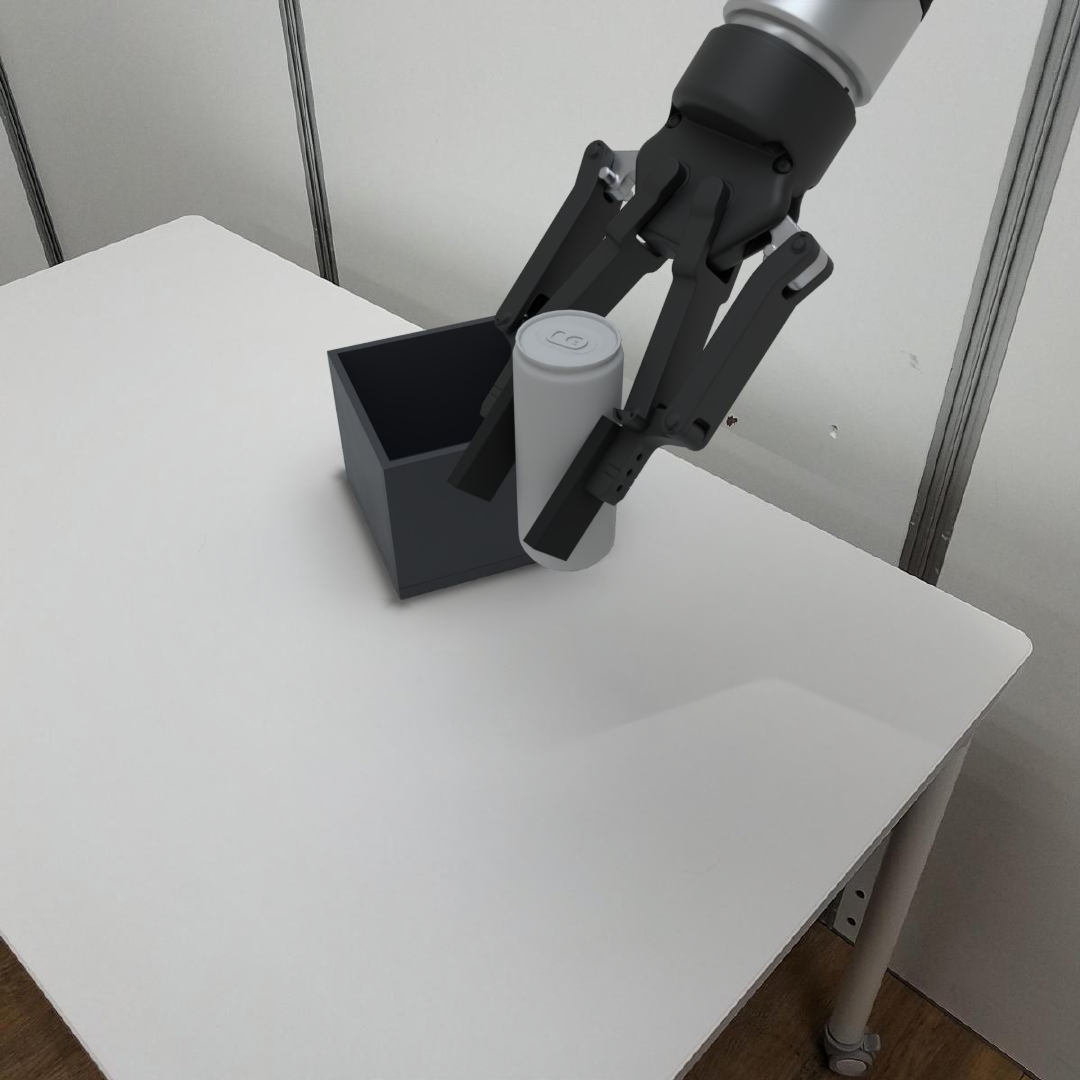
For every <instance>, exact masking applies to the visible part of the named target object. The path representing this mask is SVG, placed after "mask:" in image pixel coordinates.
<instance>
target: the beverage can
mask: <svg viewBox="0 0 1080 1080" xmlns="http://www.w3.org/2000/svg"><path fill="white" fill-rule="evenodd" d="M515 339H516V343H515V346H514V349H513V381H514V415H515V448H516V479H517V505H518V529H519V539H520V543H521V545H522V547H523V548H524V550H525V552H526V553H527V554H528V555H529V556H530V557H531V558H532V559H533V560H534V561H536V562H535V563H537V564H538V565H540V566H542V567H543V568H545V569H548V570H551V571H556V572H562V573H563V572H565V573H568V572H579V571H581V570H587V569H588V568H590V567H592V566H594V565H596V564H597V563H599V562H601V561H602V560H603V559H604V558H606V556H607V555H609V554H610V552H611V550H612V548H613V547H614V544H615V540H616V530H617V529H616V528H617V527H616V525H617V523H616V522H617V509H618V508H617V505H618V503H617V504H616V505H615V506H612V505H610V504H608V503H606V502H604V503H603V505H602V507H601V508H600V510H599V511H598V513H597V514H596V516H595V517H594V519H593V521H592V522H591V524H590V525H589V527H588V528H587V530H586V532H585V533H584V535H583V536H582V538H581V539H580V541H579V543H578V544H577V546H576V547H575V549H574V550H573V552H572V553H571V555H570V557H569V558H568V560H567V561H563V560H561V559H558V558H555V557H553V556H550V555H547V554H545V553H542V552H539V551H537V550H534V549H533V548H531V547H530V546H529V545H528V544H526V543H525V542H524V541H523V539H524V538H525V536H526V535H527V533H528V532H529V530H530V528H531V527H532V525H533V524H534V522H535V520H536V519H537V517H538V516H539V514H540V513H541V511H542V509H543V508H544V506H545V505H546V503H547V501H548V500H549V498H550V497H551V495H552V494H553V492H554V490H555V489H556V487H557V486H558V484H559V482H560V481H561V479H562V478H563V476H564V474H565V473H566V471H567V470H568V468H569V467H570V465H571V463H572V462H573V460H574V459H575V457H576V455H577V454H578V452H579V451H580V449H581V448H582V446H583V444H584V443H585V441H586V440H587V438H588V436H589V435H590V433H591V432H592V430H593V429H594V427H595V425H596V424H597V422H598V421H599V419H600V417H601V416H602V415H604V416H605V417H607V418H609V419H610V420H612V421H614V422H615V423H617V424H618V425H620V426H622V425H621V424H619V423H618V422H616V421H615V419H614V418H613V408H617V409H618V410H619V409H622V408H623V407H622V405H623V387H624V386H623V383H624V366H625V351H624V348H623V344H622V340H623V338H622V335H621V331H620V329H619V328H618V327H617V326H616V325H615V323H614V322H613V321H611V320H609V319H607V318H606V317H605V318H604V317H602V316H599V315H597V314H594V313H589V312H585V311H577V310H558V311H552V312H547V313H543V314H540V315H537V316H535V317H532V318H531V319H529V320H528V321H526V322H524V323H523V325H522V326H521V327H520V328H519V329H518V331H517V334H516V337H515Z"/></svg>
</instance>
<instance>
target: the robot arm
mask: <svg viewBox="0 0 1080 1080" xmlns="http://www.w3.org/2000/svg"><path fill="white" fill-rule="evenodd" d="M933 2H934V0H727V1H726V2H725V4H724V6H723V7H722V19H723V22H724V24H721V25H719V26H716V27H713V28H712V29H711V30H709V32H708V33H707V35H706V36H705V38H704V40H703V41H702V43H701V44H700V46H699V48H698V49H697V51H696V53H695V55H694V56H693V58H692V59H691V61H690V62H689V64H688V66H687V68H686V69H685V71H684V73H683V74H682V75H681V77H680V79H679V81H678V83H676V85H675V87H674V89H673V91H672V95H671V103H670V108H669V113H668V118H667V120H666V122H665V123H664V125H662V127H661V128H660V129H659V130H658V131H657V132H656V133H655V134H654V135H652V136H651V137H649V138H648V139H647V140H646V141H645V142H644V143H643V144H642V145H641V147H640V148H639V150H633V149H632V150H613V149H611V148H610V146H608V144H607V143H606V142H604V141H603V140H602V139H596V140H593V141H591V142H590V143H589V144H588V145H587V146H586V148H585V150H584V151H583V154H582V157H581V158H582V159H581V161H580V165H579V168H578V172H577V176H576V179H575V182H574V185H573V187H572V188H571V190H570V191H569V194H568V195H567V196H566V198H565V200H564V201H563V203H562V205H561V207H560V209H558V212H556V215H555V216H554V218H553V219H552V221H551V223H550V224H549V226H548V228H547V229H546V231H545V233H543V236H542V238H541V239H540V241H539V243H538V244H537V245H536V247H535V249H534V251H533V252H532V254H531V255H530V257H529V258H528V260H527V262H526V263H525V265H524V267H523V268H522V270H521V272H520V273H519V275H518V277H517V278H516V280H515V282H514V283H513V285H512V286H511V288H510V290H509V291H508V293H507V295H506V296H505V298H504V299H503V301H502V303H501V305H500V306H499V307H498V309H497V311H496V313H495V314H494V315H495V318H494V323H495V326H496V327H497V328H498V329H499V330H501V331H502V332H503V333H504V335H505V336H506V338H507V340H508V341H509V343H510V345H511V356H510V359H509V361H508V363H507V364H506V366H505V368H504V369H503V371H502V372H501V374H500V376H499V377H498V379H497V381H496V382H495V384H494V386H493V387H492V389H491V390H490V393H489V394H488V395H487V397H486V399H485V400H484V402H483V403H482V407H481V411H480V415H481V416H483V417H484V418H485V419H484V421H483V422H482V424H481V426H480V427H479V429H478V430H477V432H476V434H475V435H474V437H473V439H472V440H471V442H470V443H469V445H468V447H467V448H466V450H465V452H464V453H463V455H462V456H461V458H460V460H459V461H458V463H457V465H456V466H455V468H454V469H453V471H452V473H451V474H450V476H449V478H448V479H447V482H449V483H450V484H451V485H453V486H454V487H455V488H456V489H459V490H461V491H464V492H466V493H469V494H471V495H473V496H476V497H478V498H481V499H483V500H486V501H488V502H491V500H492V499H493V497H494V495H495V494H496V492H497V491H498V489H499V487H500V486H501V484H502V482H503V481H504V479H505V478H506V476H507V474H508V473H509V471H510V470H511V468H512V466H513V465H514V463H515V462H516V448H515V415H514V381H513V349H514V346H515V343H516V339H515V337H516V334H517V331H518V329H519V328H520V327H521V326H522V325H523V323H524V322H526V321H528V320H529V319H531V318H532V317H535V316H537V315H540V314H543V313H547V312H552V311H558V310H577V311H585V312H589V313H594V314H597V315H599V316H602V317H604V318H606V317H607V316H608V315H609V314H610V313H611V312H612V311H613V310H614V308H615V307H616V306H617V305H618V304H619V303H620V302H621V301H622V300H623V299H624V298H625V296H626V295H627V294H628V293H629V292H631V290H632V289H633V288H634V287H635V286H636V285H637V283H639V281H641V280H642V278H643V277H644V276H646V275H647V274H653V273H656V272H657V271H658V270H659V269H661V268H662V266H664V265H665V263H667V262H668V260H672V263H671V275H672V281H671V283H670V286H669V289H668V290H667V291H668V292H667V293H666V297H665V299H664V302H663V304H662V307H661V310H660V313H659V315H658V317H657V320H656V323H655V325H654V327H653V331H652V333H651V336H650V339H649V342H648V344H647V346H646V349H645V351H644V354H643V357H642V360H641V362H640V365H639V367H638V370H637V373H636V376H635V378H634V381H633V383H632V386H631V388H630V391H629V393H628V397H627V399H626V402H625V404H624V407H623V409H622V408H621V409H619V410H618V409H617V408H613V418H614V419H615V421H616V422H618V423H619V424H621V426H620V425H618V424H617V423H615V422H614V421H612V420H610V419H609V418H607V417H605V416H604V415H602V416H601V417H600V419H599V421H598V422H597V424H596V425H595V427H594V429H593V430H592V432H591V433H590V435H589V436H588V438H587V440H586V441H585V443H584V444H583V446H582V448H581V449H580V451H579V452H578V454H577V455H576V457H575V459H574V460H573V462H572V463H571V465H570V467H569V468H568V470H567V471H566V473H565V474H564V476H563V478H562V479H561V481H560V482H559V484H558V486H557V487H556V489H555V490H554V492H553V494H552V495H551V497H550V498H549V500H548V501H547V503H546V505H545V506H544V508H543V509H542V511H541V513H540V514H539V516H538V517H537V519H536V520H535V522H534V524H533V525H532V527H531V528H530V530H529V532H528V533H527V535H526V536H525V538H524V539H523V541H524V542H525V543H526V544H528V545H529V546H530V547H531V548H533V549H534V550H537V551H539V552H542V553H545V554H547V555H550V556H553V557H555V558H558V559H561V560H563V561H567V560H568V558H569V557H570V555H571V553H572V552H573V550H574V549H575V547H576V546H577V544H578V543H579V541H580V539H581V538H582V536H583V535H584V533H585V532H586V530H587V528H588V527H589V525H590V524H591V522H592V521H593V519H594V517H595V516H596V514H597V513H598V511H599V510H600V508H601V507H602V505H603V503H604V502H606V503H608V504H610V505H612V506H615V505H616V504H617V505H618V504H619V503H620V502H622V501H623V500H624V498H625V497H626V495H627V494H628V492H629V490H630V489H631V487H632V486H633V485H634V483H635V480H637V478H638V477H639V475H640V474H641V472H642V470H643V469H644V468H645V466H646V464H647V463H648V461H649V459H650V458H651V456H652V455H653V454H654V452H655V451H656V450H657V449H659V448H660V447H661V448H662V447H663V446H674V447H678V448H685V449H687V450H688V451H691V452H700V451H701V450H704V449H705V448H706V446H708V444H709V443H710V441H711V439H712V438H713V436H714V435H715V433H716V432H717V430H718V429H719V427H720V426H721V425H722V423H723V421H724V419H725V418H726V416H727V415H728V413H729V412H730V410H731V408H732V406H733V405H734V404H735V403H736V401H737V399H738V398H739V396H740V394H741V393H742V391H743V390H744V388H745V387H746V385H747V383H748V382H749V381H750V379H751V377H752V376H753V374H754V373H755V371H756V370H757V368H758V367H759V365H760V363H761V361H763V359H764V357H765V355H766V354H767V352H768V351H769V349H770V347H772V345H773V343H774V342H775V340H776V338H777V337H778V335H779V334H780V332H781V330H782V329H783V328H784V326H785V325H786V323H787V322H788V320H789V318H790V317H791V315H792V313H793V312H794V310H795V309H796V308H797V306H798V305H800V304H801V303H802V302H803V301H804V300H805V299H806V298H807V297H808V296H810V295H811V294H812V293H813V292H814V291H816V290H817V289H818V288H819V287H820V286H821V285H822V284H824V283H825V282H826V281H827V280H828V279H829V278H830V277H831V275H832V274H833V272H834V270H835V263H834V262H833V259H832V258H831V257H830V256H829V254H828V253H827V252H826V250H825V249H824V248H823V247H822V245H821V244H820V243H819V242H818V241H817V239H816V238H815V236H813V234H812V233H811V232H809V231H807V230H802V228H801V227H800V226H799V225H798V222H799V220H800V217H801V216H800V215H801V206H802V203H803V199H804V198H805V197H804V196H805V195H806V192H808V191H810V190H812V189H814V188H815V187H816V186H818V184H819V183H820V182H821V180H822V178H823V177H824V175H825V174H826V172H827V171H828V169H829V168H830V166H831V165H832V163H833V162H834V160H835V159H836V157H837V155H838V154H839V152H840V151H841V149H842V147H843V146H844V145H845V143H846V142H847V140H848V138H849V137H850V135H851V133H852V132H853V131H854V129H855V127H856V125H857V114H856V113H857V112H856V108H861V107H864V106H866V105H868V104H870V102H871V101H872V99H873V98H874V96H875V95H876V93H877V91H878V90H879V89H880V87H881V85H882V84H883V82H884V81H885V80H886V77H887V76H888V74H889V73H890V72H891V70H892V68H893V67H894V65H895V64H896V62H897V61H898V59H899V57H900V56H901V54H902V52H903V51H904V50H905V48H906V46H907V44H908V43H909V41H910V40H911V39H912V37H913V36H914V34H915V33H916V31H917V29H918V28H919V26H920V24H921V23H922V22H923V21H924V18H925V17H926V15H927V13H928V12H929V10H930V8H931V7H932V6H931V5H932V4H933ZM633 188H634V192H633ZM624 202H626V203H625V204H624V205H623V203H624ZM637 236H638V237H639V238H640V239H641V240H642V241H643V242H642V241H641V240H640V239H639V238H638V237H637ZM760 252H762V254H763V256H762V262H761V263H760V264H759V265H758V266H757V267H756V268H755V270H754V271H753V272H752V273H751V275H749V277H748V279H747V280H746V282H745V283H744V285H743V287H742V288H741V289H740V291H739V293H738V294H737V296H736V298H735V299H734V301H733V302H732V304H731V305H730V307H729V308H728V310H727V311H726V314H725V315H724V316H723V318H722V320H721V321H720V322H719V324H718V326H717V327H716V329H715V331H714V332H713V333H712V335H711V337H710V338H709V335H710V333H711V331H712V327H713V325H714V323H715V320H716V318H717V315H718V312H719V309H720V308H721V306H722V305H724V304H727V302H728V301H729V299H730V297H731V295H732V292H733V290H734V286H735V284H736V281H737V278H738V276H739V273H740V271H741V268H742V265H743V263H744V261H745V260H747V259H749V258H751V257H753V256H754V255H756V254H758V253H760ZM708 338H709V340H708ZM707 341H708V342H707Z"/></svg>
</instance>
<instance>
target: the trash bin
mask: <svg viewBox="0 0 1080 1080" xmlns="http://www.w3.org/2000/svg"><path fill="white" fill-rule="evenodd" d="M495 315H496V314H494V315H490V316H485V317H480V318H476V319H471V320H465V321H462V322H457V323H452V324H448V325H447V324H446V325H443V326H438V327H432V328H429V329H423V330H419V331H414V332H410V333H405V334H399V335H395V336H391V337H385V338H381V339H376V340H371V341H367V342H362V343H356V344H352V345H348V346H343V347H338V348H334V349H329V350H327V351H326V355H327V362H328V368H329V369H328V370H329V374H330V381H331V386H332V393H333V398H334V399H333V400H334V407H335V412H336V419H337V424H338V430H339V437H340V444H341V449H342V450H341V451H342V456H343V464H344V468H345V476H346V478H347V480H348V483H349V485H350V488H351V489H352V492H353V495H354V496H355V499H356V502H357V504H358V506H359V508H360V511H361V513H362V515H363V518H364V520H365V522H366V524H367V527H368V529H369V532H370V533H371V536H372V538H373V541H374V543H375V545H376V547H377V549H378V552H379V554H380V557H381V559H382V561H383V563H384V567H385V568H386V571H387V573H388V576H389V577H390V580H391V582H392V583H393V584H392V585H393V586H394V589H395V591H396V594H397V596H398V598H399V600H405V599H408V598H411V597H415V596H419V595H422V594H427V593H430V592H433V591H437V590H440V589H443V588H447V587H451V586H452V587H453V586H455V585H458V584H462V583H466V582H469V581H473V580H476V579H480V578H483V577H488V576H491V575H495V574H498V573H502V572H505V571H506V572H507V571H509V570H512V569H516V568H519V567H524V566H527V565H530V564H534V563H537V562H536V561H534V560H533V559H532V558H531V557H530V556H529V555H528V554H527V553H526V552H525V550H524V548H523V547H522V545H521V543H520V539H519V529H518V505H517V479H516V462H515V463H514V465H513V466H512V468H511V470H510V471H509V473H508V474H507V476H506V478H505V479H504V481H503V482H502V484H501V486H500V487H499V489H498V491H497V492H496V494H495V495H494V497H493V499H492V500H491V502H488V501H486V500H483V499H481V498H478V497H476V496H473V495H471V494H469V493H466V492H464V491H461V490H459V489H456V488H455V487H454V486H453V485H451V484H450V483H449V482H447V479H448V478H449V476H450V474H451V473H452V471H453V469H454V468H455V466H456V465H457V463H458V461H459V460H460V458H461V456H462V455H463V453H464V452H465V450H466V448H467V447H468V445H469V443H470V442H471V440H472V439H473V437H474V435H475V434H476V432H477V430H478V429H479V427H480V426H481V424H482V422H483V421H484V419H485V418H484V417H483V416H481V415H480V411H481V407H482V403H483V402H484V400H485V399H486V397H487V395H488V394H489V393H490V390H491V389H492V387H493V386H494V384H495V382H496V381H497V379H498V377H499V376H500V374H501V372H502V371H503V369H504V368H505V366H506V364H507V363H508V361H509V359H510V356H511V345H510V343H509V341H508V340H507V338H506V336H505V335H504V333H503V332H502V331H501V330H499V329H498V328H497V327H496V326H495V323H494V318H495Z"/></svg>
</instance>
